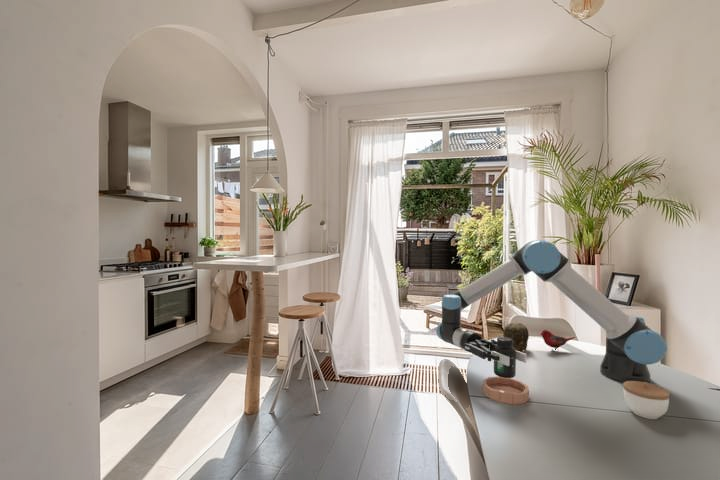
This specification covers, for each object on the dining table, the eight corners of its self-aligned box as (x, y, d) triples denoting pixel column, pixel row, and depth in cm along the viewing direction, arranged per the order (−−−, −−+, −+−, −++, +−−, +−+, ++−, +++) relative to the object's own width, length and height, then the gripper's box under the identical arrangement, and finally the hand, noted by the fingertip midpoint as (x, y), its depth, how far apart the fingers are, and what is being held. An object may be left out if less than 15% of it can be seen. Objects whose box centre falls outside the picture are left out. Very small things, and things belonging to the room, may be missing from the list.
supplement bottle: (501, 379, 111) (502, 342, 111) (489, 371, 118) (489, 336, 118) (520, 377, 113) (520, 341, 112) (507, 369, 119) (507, 335, 119)
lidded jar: (679, 425, 96) (679, 392, 96) (635, 421, 98) (635, 388, 98) (654, 407, 106) (654, 377, 106) (615, 403, 108) (615, 374, 108)
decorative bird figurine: (538, 350, 160) (538, 329, 160) (573, 349, 162) (573, 328, 162) (542, 352, 157) (542, 330, 157) (577, 351, 159) (577, 329, 159)
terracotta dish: (536, 395, 114) (536, 386, 114) (515, 408, 105) (515, 398, 105) (496, 381, 125) (496, 373, 125) (475, 392, 116) (475, 383, 116)
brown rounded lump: (529, 347, 165) (530, 322, 165) (527, 353, 155) (527, 327, 155) (505, 343, 170) (505, 319, 170) (501, 349, 161) (501, 324, 161)
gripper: (486, 346, 136) (538, 367, 115) (446, 353, 127) (494, 376, 106) (487, 328, 135) (538, 344, 115) (446, 333, 127) (494, 352, 106)
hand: (517, 359), depth 111 cm, fingers closed on supplement bottle, 7 cm apart
